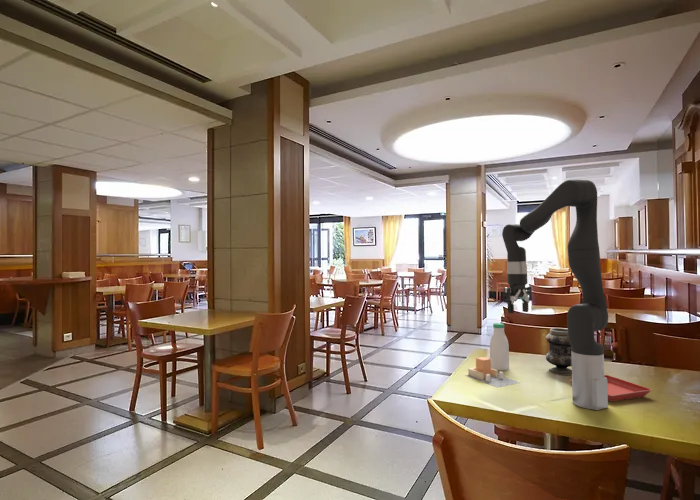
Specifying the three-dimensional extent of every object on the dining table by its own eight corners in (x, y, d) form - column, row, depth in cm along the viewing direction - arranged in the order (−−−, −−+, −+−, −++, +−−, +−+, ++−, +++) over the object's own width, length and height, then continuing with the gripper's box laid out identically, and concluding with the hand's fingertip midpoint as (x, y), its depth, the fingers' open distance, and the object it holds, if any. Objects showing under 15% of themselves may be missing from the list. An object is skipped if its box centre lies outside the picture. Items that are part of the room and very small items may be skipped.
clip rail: (520, 385, 151) (520, 375, 152) (497, 390, 146) (497, 380, 146) (486, 373, 167) (486, 365, 167) (465, 377, 161) (464, 369, 161)
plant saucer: (611, 405, 131) (611, 395, 131) (568, 387, 149) (568, 379, 149) (653, 399, 136) (652, 389, 136) (606, 383, 154) (606, 374, 154)
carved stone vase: (584, 376, 161) (583, 332, 162) (554, 376, 162) (553, 332, 162) (568, 368, 173) (567, 326, 174) (540, 368, 174) (539, 327, 174)
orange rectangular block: (490, 376, 159) (490, 359, 159) (483, 378, 158) (483, 360, 158) (483, 373, 163) (483, 356, 163) (476, 375, 161) (475, 358, 161)
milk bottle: (512, 372, 168) (511, 325, 168) (493, 372, 168) (492, 325, 169) (505, 367, 176) (504, 322, 176) (487, 367, 176) (486, 322, 176)
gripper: (512, 273, 155) (514, 314, 155) (536, 272, 162) (538, 312, 161) (497, 273, 162) (498, 312, 161) (521, 272, 169) (522, 310, 168)
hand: (518, 312), depth 161 cm, fingers open, 8 cm apart
